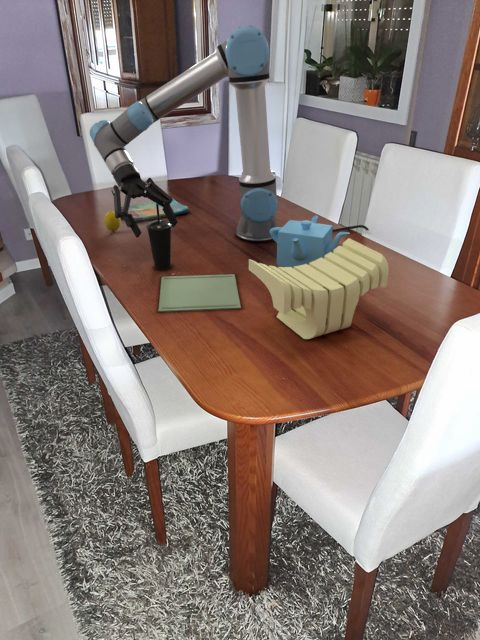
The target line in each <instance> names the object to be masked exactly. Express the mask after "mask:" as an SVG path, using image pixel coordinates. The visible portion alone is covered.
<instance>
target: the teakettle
mask: <svg viewBox="0 0 480 640" xmlns="http://www.w3.org/2000/svg"><path fill="white" fill-rule="evenodd" d="M318 219H319V215H318V214H317V215H313V217H312V218H311V220H306V219H305V220H293V219H289V220H288V221H287V222H286V223H285V224H284V225H283V226H278V227H274V228H272V229H270V235H271V237H272V238H273V241H274V242H275V243H276V262H275V263H276V266H278V267H292V268H293V269H294V266H300V265H304V264H307V265H309V263H310V262H312V261H315V260H317V259H319V258H321V257H322V258H323V259H324V256H325V255H326V254H328V253H329V252H332V253H333V250H334V249H335V248H337V247H338V246H339V243H340V242H341V240H342V239H343V238H344V237H345V236H347V235H350V234H351V232H349V231H338V233H336V235H335V236H334V238H333V232H332V230H333V229H334V225H332V224H326V223H325V224H324V223H318ZM277 232H278V235H277ZM332 239H333V241H332Z"/></svg>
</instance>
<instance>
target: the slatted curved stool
mask: <svg viewBox="0 0 480 640" xmlns="http://www.w3.org/2000/svg"><path fill="white" fill-rule="evenodd" d="M248 271H250V272H251V274H253V275H254V276H256V277H257V278H258V279H259V280H260V282H262V283H263V284H264V286H265V287H266V288H267V290H268V292H269V293H270V296H271V301H272V307H273V308H274V309H275V310H276V311H278V313H277V315H276V318H277V319H278V320H279V321H281V322H282V323H284V325H285V326H287V327H288V328H290V329H291V330H292V331H293V332H294V333H296V334H297V335H298V336H300V337H301V338H302V339H303V340H310V339H313V338H317V337H321V336H322V335H323V336H324V335H326V334H329V333H330V334H331V333H334V332H337V331H340V330H344V329H347V328H350V327H351V325H352V322H353V317H354V314H355V312H356V309H357V306H358V303H359V301H360V296H364V295H365V294H366V293H367V292H369V290H374V289H377V288H387V285H388V279H389V272H390V267H389V263H388V260H387V259H386V257H385V256H384V254H382V253H381V252H378V251H376V250H374V249H372V248H371V247H369V246H365V245H364V244H362V243H360V242H358V241H356V240H353V239H352V238H351V237H348V238H347V239H346V240H344V241H343V242H342V245H338V246H337V248H335V249H334V250H333V253H332V252H329V253H328V254H326V255H325V256H324V259H323V258H322V257H321V258H319V259H317V260H315V261H312V262H310V263H309V265H307V264H304V265H300V266H294V269H293V268H292V267H285V266H275V265H270V264H269V265H267V264H265V263H262V262H257V261H256V260H253V259H250V258H248Z"/></svg>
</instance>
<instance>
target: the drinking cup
mask: <svg viewBox="0 0 480 640" xmlns="http://www.w3.org/2000/svg"><path fill="white" fill-rule="evenodd" d="M156 209H157V219H155V220H153V221H150V222H148V223H147V224H146V225H145V228H146V230H147V234H148V238H149V239H148V240H149V244H150V249H151V254H152V260H153V264H154V268H155V270H157V271H166V270H167V271H168V270H169V269H171V266H172V265H171V261H172V260H171V259H172V258H171V257H172V254H171V253H172V228H173V227H172V224H171V223H170V222H169V221H167V220H163V219H161V218H160V217H159V205H158V204H156Z"/></svg>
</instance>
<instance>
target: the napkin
mask: <svg viewBox="0 0 480 640" xmlns="http://www.w3.org/2000/svg"><path fill="white" fill-rule="evenodd" d="M159 289H160V291H159V300H158V309H157V310H158V313H171V312H173V313H174V312H194V311H196V312H197V311H222V310H240V309H242V306H241V301H240V295H239V290H238V286H237V279H236V274H235V273H231V274H230V273H228V274H202V275H201V274H199V275H198V274H197V275H174V276H173V275H172V276H170V275H169V276H161V279H160V288H159Z"/></svg>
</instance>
